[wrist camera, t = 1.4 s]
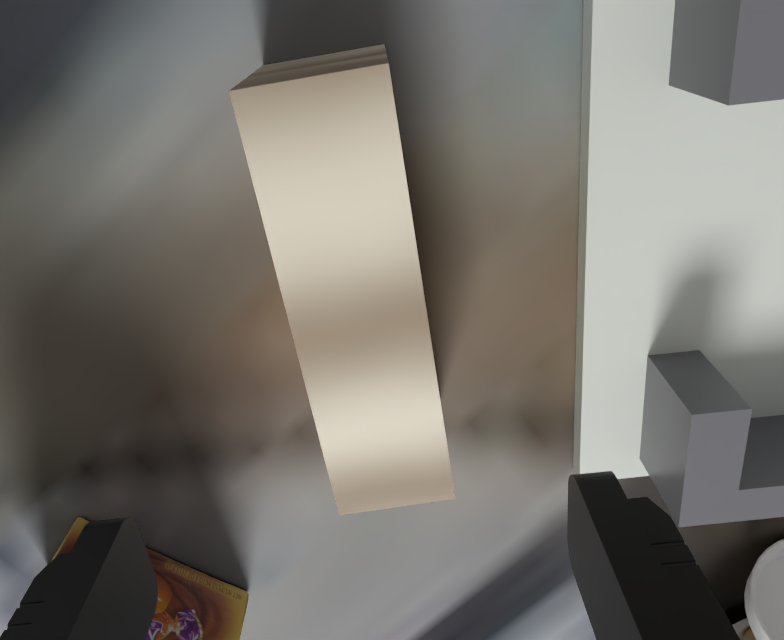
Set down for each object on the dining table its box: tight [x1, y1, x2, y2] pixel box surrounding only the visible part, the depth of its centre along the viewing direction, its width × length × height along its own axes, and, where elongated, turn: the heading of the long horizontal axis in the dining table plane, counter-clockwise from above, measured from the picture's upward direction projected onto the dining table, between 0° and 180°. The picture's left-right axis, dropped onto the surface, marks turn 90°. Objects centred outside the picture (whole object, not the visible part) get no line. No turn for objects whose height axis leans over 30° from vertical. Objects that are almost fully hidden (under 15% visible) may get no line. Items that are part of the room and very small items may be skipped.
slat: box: [229, 44, 455, 515], centre depth 22 cm, size 14×4×6 cm, turn 9°
